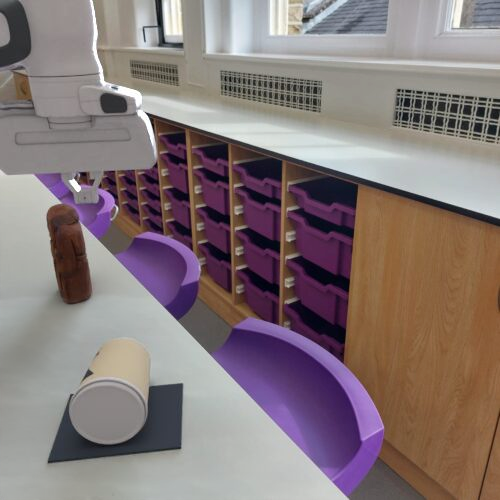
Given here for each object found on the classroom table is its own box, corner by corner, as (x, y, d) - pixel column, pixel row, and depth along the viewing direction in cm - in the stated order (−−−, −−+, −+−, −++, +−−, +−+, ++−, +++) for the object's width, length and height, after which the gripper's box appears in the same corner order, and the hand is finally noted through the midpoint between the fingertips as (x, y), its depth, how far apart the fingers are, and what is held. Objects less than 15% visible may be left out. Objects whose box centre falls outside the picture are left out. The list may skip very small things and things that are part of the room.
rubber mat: (47, 463, 59) (47, 461, 59) (70, 395, 70) (70, 393, 70) (181, 448, 60) (180, 446, 60) (182, 384, 71) (182, 382, 71)
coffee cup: (88, 331, 68) (64, 382, 57) (156, 332, 69) (146, 383, 57) (91, 387, 71) (69, 446, 60) (156, 388, 72) (146, 446, 61)
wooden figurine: (57, 282, 102) (38, 200, 94) (88, 275, 104) (73, 194, 97) (62, 308, 92) (42, 219, 85) (97, 299, 94) (80, 212, 87)
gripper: (-26, 104, 58) (1, 214, 64) (148, 98, 59) (159, 206, 65) (-6, 97, 64) (17, 198, 69) (152, 92, 65) (162, 192, 71)
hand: (87, 202), depth 67 cm, fingers closed
